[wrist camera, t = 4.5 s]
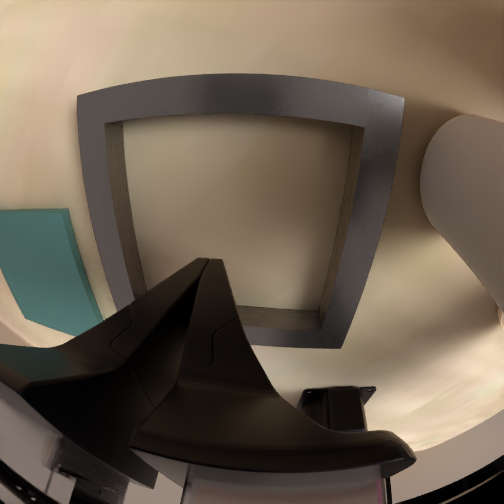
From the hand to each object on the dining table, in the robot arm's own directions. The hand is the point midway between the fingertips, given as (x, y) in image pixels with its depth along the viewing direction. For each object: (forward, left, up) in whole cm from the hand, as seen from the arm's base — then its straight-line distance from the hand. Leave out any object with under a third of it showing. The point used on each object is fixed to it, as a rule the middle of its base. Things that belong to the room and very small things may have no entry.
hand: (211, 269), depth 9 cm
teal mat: (-5, +15, -4) cm, 16 cm away
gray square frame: (0, 0, -4) cm, 4 cm away
